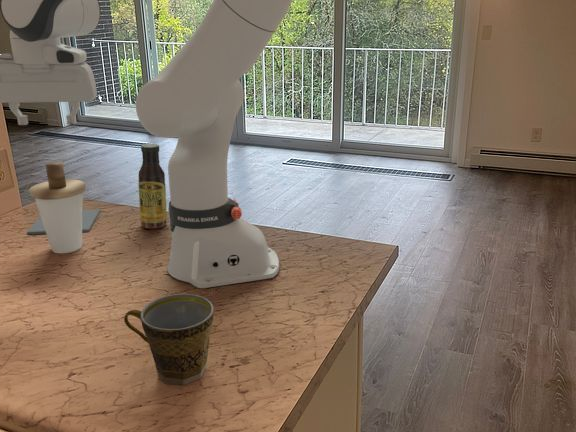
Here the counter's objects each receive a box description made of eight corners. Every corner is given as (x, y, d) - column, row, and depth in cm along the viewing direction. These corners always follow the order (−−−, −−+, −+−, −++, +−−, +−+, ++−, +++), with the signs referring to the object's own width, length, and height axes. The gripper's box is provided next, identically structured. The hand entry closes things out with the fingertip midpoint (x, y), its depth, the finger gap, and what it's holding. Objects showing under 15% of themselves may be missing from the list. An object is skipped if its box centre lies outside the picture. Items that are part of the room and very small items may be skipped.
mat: (100, 211, 144) (100, 209, 144) (89, 231, 131) (89, 229, 131) (44, 213, 142) (43, 211, 142) (27, 234, 129) (26, 231, 129)
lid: (90, 182, 123) (87, 156, 121) (79, 198, 113) (75, 170, 111) (39, 184, 122) (34, 158, 120) (22, 200, 112) (17, 171, 110)
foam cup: (79, 256, 118) (71, 198, 113) (36, 256, 118) (26, 198, 113) (95, 239, 127) (87, 184, 122) (54, 238, 127) (46, 184, 122)
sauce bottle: (138, 230, 132) (130, 148, 125) (144, 220, 137) (136, 142, 130) (166, 230, 132) (159, 148, 125) (171, 220, 137) (164, 142, 131)
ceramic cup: (224, 354, 84) (221, 296, 81) (204, 397, 75) (200, 333, 72) (143, 346, 86) (137, 289, 83) (114, 387, 77) (106, 324, 74)
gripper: (-26, 54, 104) (-13, 128, 108) (87, 54, 106) (96, 126, 111) (-14, 52, 109) (-1, 122, 114) (94, 52, 112) (101, 120, 117)
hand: (47, 124), depth 113 cm, fingers open, 8 cm apart
